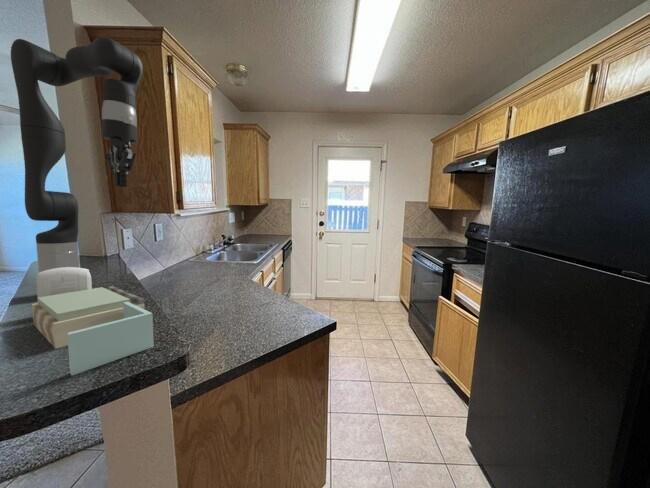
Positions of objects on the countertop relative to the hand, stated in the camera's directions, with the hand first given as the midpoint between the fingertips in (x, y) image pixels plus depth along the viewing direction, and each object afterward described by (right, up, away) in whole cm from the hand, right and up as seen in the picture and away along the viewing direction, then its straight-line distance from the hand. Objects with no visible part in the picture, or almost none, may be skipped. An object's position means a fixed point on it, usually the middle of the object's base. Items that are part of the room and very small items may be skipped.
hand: (120, 187), depth 73 cm
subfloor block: (+1, -35, -11) cm, 37 cm away
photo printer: (-11, -35, -4) cm, 36 cm away
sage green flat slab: (+1, -30, -12) cm, 32 cm away
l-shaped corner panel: (+15, -37, -22) cm, 46 cm away
